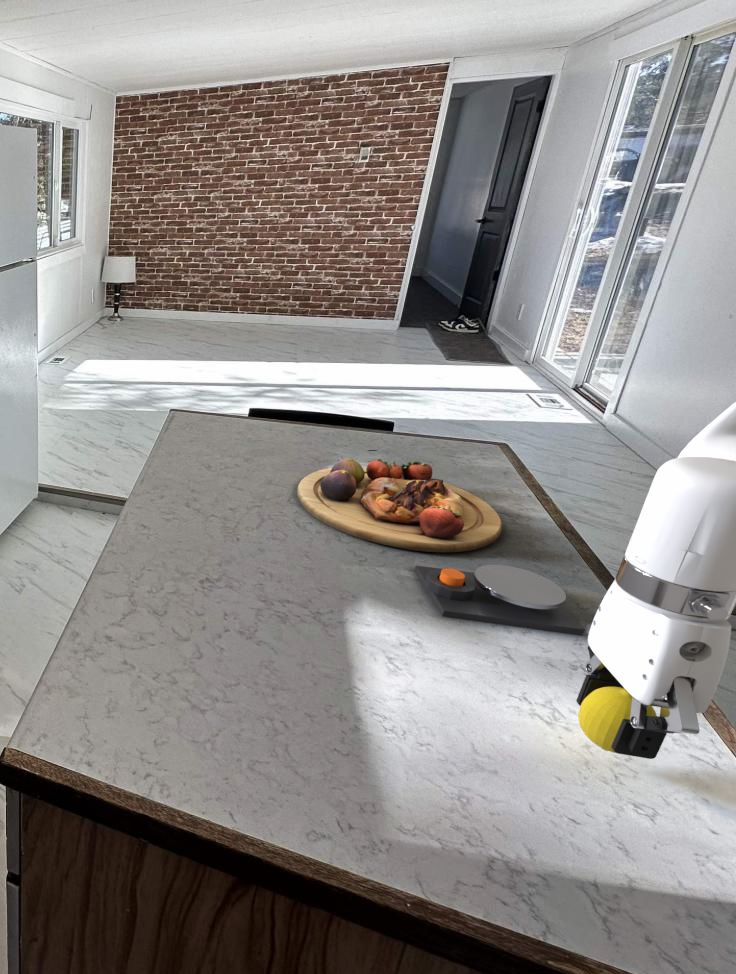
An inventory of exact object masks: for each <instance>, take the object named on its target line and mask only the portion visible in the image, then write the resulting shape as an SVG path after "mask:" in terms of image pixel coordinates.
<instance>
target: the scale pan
mask: <svg viewBox="0 0 736 974" xmlns="http://www.w3.org/2000/svg"><path fill="white" fill-rule="evenodd" d="M474 581H475V582H476V584H477V585H478V586H479V587H480V588H481V589H483V590H484V591H486V592H487V593H489V594H491V595H492V596H494V597H496V598H499V599H501V600H503V601H506V602H509V603H512V604H515V605H519V606H523V607H527V608H533V609H545V610H546V609H556V608H559V607H561V606H562V605H563V606H564V604H565V602H566V600H567V595H566V592H565V590H564V589H563V588H562V587H561V586H560V585H558V584H557V583H555V582H554V581H552V580H551V579H549V578H547V577H544V576H543V575H540V574H539V573H535V572H533V571H530V570H527V569H524V568H520V567H517V566H510V565H505V564H485V565H481V566H479V567H477V568H476V569H475V570H474Z"/></svg>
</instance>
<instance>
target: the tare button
mask: <svg viewBox="0 0 736 974" xmlns="http://www.w3.org/2000/svg"><path fill="white" fill-rule="evenodd" d="M442 569H443V570H442V571H441V574H440V578H439V580H440V581H441V582H443V583H444V584H447V585H450V586H455V587H462V586H463V583H464V580H465V575H464V574H463V573H462V572H460V571H461V570H457V569H454V568H448V567H447V568H442Z"/></svg>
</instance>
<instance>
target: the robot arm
mask: <svg viewBox="0 0 736 974" xmlns="http://www.w3.org/2000/svg"><path fill="white" fill-rule="evenodd" d="M735 607H736V401H735V402H734V403H732V404H731V405H729V406H728V408H726V409H725V410H724V411H723V412H721V413H720V414H719V415H718V416H717V417H716V418H715V419H713V420H712V421H711V422H710V423H708V424H707V425H706V426H705V427H704V428H703V429H702V430H701V431H700V432H699V433H697V435H695V436H693V438H692V439H691V440H690V441H689V442H688V443H687V444H686V446H685V447H684V448H683V449H682V450H681V451H680V452H679V454H678V456H677V457H675V458H672V459H669V460H667V461H665V462H664V463H663V464H662V465H661V466H660V467H658V469H657V470H656V473H655V475H654V477H653V480H652V482H651V484H650V487H649V490H648V492H647V494H646V497H645V500H644V503H643V505H642V508H641V510H640V514H639V516H638V518H637V521H636V524H635V527H634V529H633V531H632V534H631V536H630V539H629V541H628V545H627V547H626V549H625V553H624V554H623V557H622V560H621V563H620V565H619V568H618V570H617V573H616V576H615V578H614V580H613V582H612V583H611V585H609V588H608V589H607V591H606V593H605V594H604V596H603V599H602V601H601V602H600V604H599V605H598V608H597V610H596V612H595V615H594V617H593V620H592V622H591V623H588V624H587V625H586V628H585V629H586V633H587V634H586V635H587V644H588V646H587V651H588V655H589V660H587V662H586V663H585V671H586V673H587V674H585V677H584V680H583V682H582V686H581V687H580V690H579V692H578V695H577V698H576V703H577V704H578V706H579V707H580V706H581V704H582V702H583V700H584V699H585V698H586V697H587V696H588V695H589V694H590V693H591V692H593V691H594V690H596V689H599V688H602V687H620V688H625V689H626V690H627V691H628V692H629V693H630V694H631V695H632V703H631V713H630V720H629V719H623V720H622V722H621V725H620V727H619V729H618V732H617V734H616V736H615V739H614V741H613V743H612V746H611V747H612V749H613V750H614V751H615V752H616V753H615V754H617V755H618V754H619V755H624V756H632V757H636V758H643V759H647V760H653V759H655V758H657V755H658V753H659V751H660V750H661V748H662V747H661V746H662V745H663V743H664V741H665V739H666V736H667V734H670V735H673V734H689V735H699V733H700V724H699V720H698V714H704V713H705V712H706V711H707V710H708V708H709V707H710V704H711V703H712V701H713V698H714V696H715V693H716V691H717V688H718V686H719V683H720V680H721V677H722V675H723V671H724V668H725V665H726V662H727V658H728V653H729V649H730V643H731V637H732V624H731V623H730V622H729V619H730V617H731V616H732V613H733V610H734V609H735ZM649 705H650V706H652V707H658V708H660V710H659V716H658V715H657V716H646V714H647V706H649Z"/></svg>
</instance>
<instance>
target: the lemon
mask: <svg viewBox="0 0 736 974" xmlns="http://www.w3.org/2000/svg"><path fill="white" fill-rule="evenodd" d="M631 703H632V695H631V694H630V693H629V692H628V691H627V690H626V689H625V688H620V687H602V688H599V689H596V690H594V691H593V692H591V693H590V694H589V695H588V696H587V697H586V698H585V699H584V700H583V702H582V704H581V706H580V705H579V710H578V723H579V726H580V729H581V731H582V732H583V733H584V735H585V736H586V737H587V739H589V740H590V741H591V742H592V743H594V744H595V745H597V746H598V747H599V748H600V749H602V750H604V751H606V752H611V753H615V754H617V753H616V752H615V751H614V750H613V749H612V747H611V746H612V743H613V741H614V739H615V736H616V734H617V732H618V729H619V727H620V725H621V722H622V720H623V719H629V720H630V713H631ZM646 716H658V715H657V712H656V710H655V709H654V706H650V705H649V706H647V714H646Z"/></svg>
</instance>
